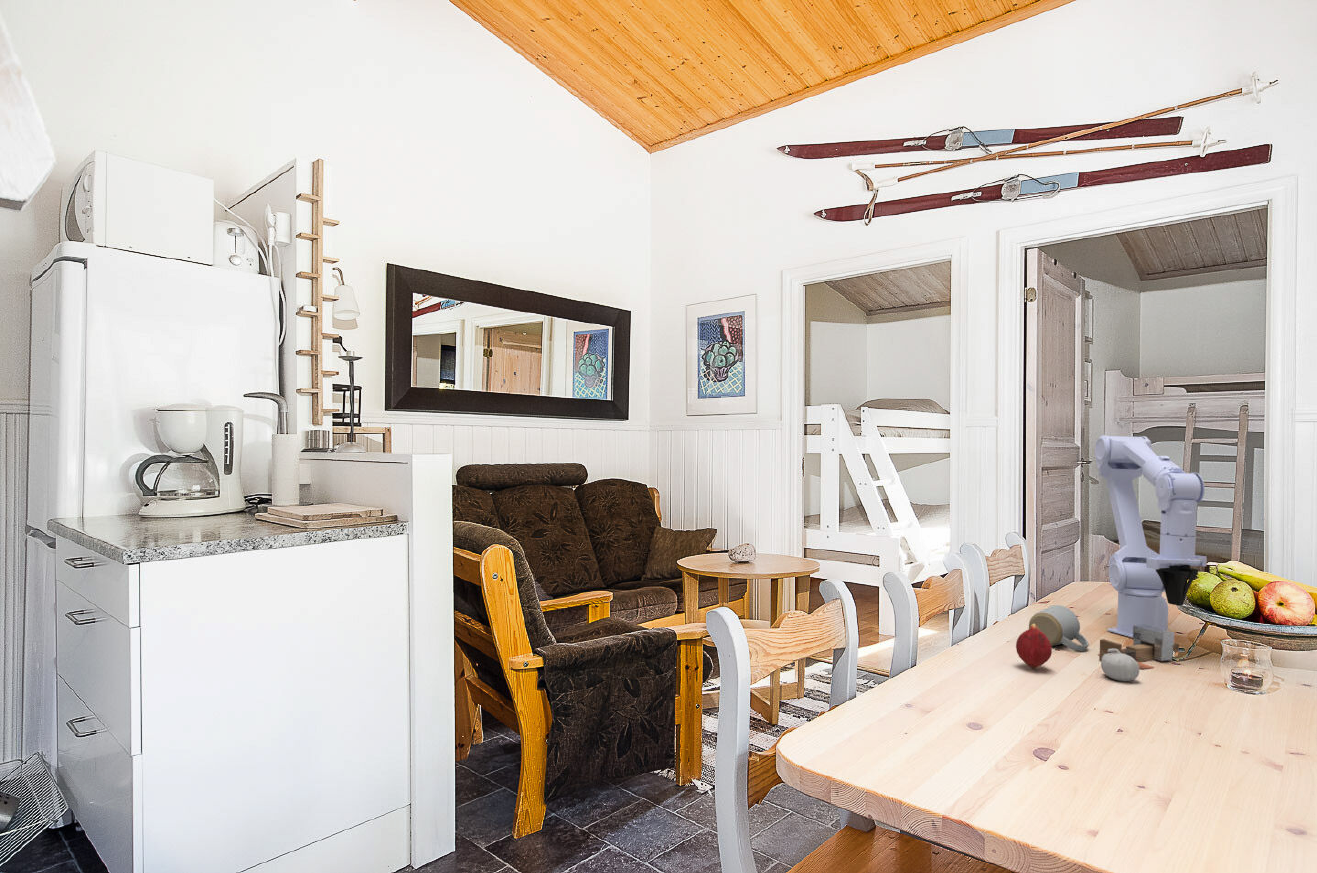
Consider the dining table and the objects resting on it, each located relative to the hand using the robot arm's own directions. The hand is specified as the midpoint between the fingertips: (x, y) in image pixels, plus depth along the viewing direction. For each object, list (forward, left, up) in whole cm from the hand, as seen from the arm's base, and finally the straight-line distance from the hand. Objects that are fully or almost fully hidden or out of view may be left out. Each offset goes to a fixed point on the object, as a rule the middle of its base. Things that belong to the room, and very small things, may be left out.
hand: (1175, 604), depth 148 cm
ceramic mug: (+16, -12, -10) cm, 23 cm away
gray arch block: (+6, 0, -10) cm, 12 cm away
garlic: (+24, +7, -10) cm, 27 cm away
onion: (+34, -2, -10) cm, 36 cm away
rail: (+8, 0, -10) cm, 13 cm away
